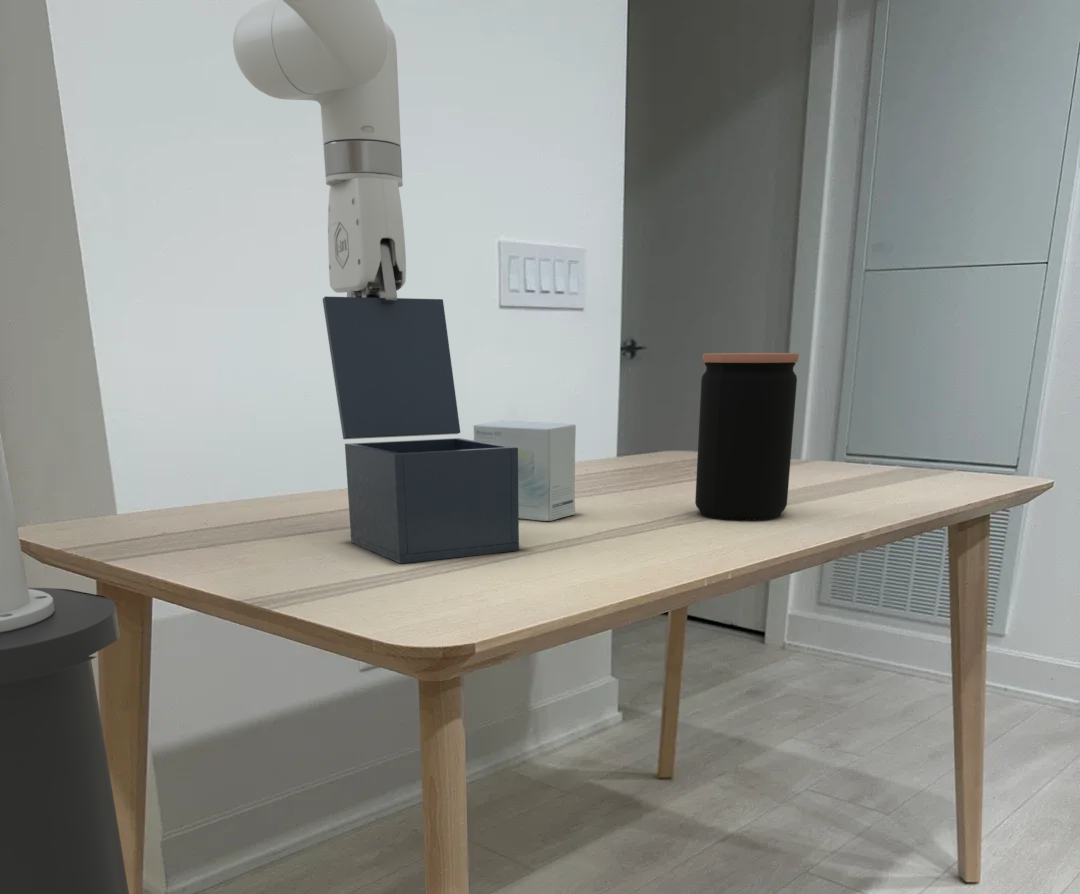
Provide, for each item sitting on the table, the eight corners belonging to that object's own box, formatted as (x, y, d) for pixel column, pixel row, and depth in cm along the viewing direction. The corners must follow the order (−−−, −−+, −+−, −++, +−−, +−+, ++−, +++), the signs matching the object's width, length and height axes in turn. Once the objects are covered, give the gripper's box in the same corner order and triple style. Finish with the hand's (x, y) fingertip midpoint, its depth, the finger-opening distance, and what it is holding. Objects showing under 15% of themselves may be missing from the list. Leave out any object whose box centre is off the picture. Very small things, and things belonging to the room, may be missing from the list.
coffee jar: (803, 514, 120) (817, 353, 114) (751, 524, 113) (763, 353, 107) (729, 505, 127) (739, 353, 121) (676, 514, 120) (683, 353, 114)
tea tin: (519, 550, 99) (518, 447, 96) (400, 563, 93) (394, 454, 90) (461, 531, 109) (459, 437, 106) (351, 542, 103) (344, 443, 100)
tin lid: (443, 298, 104) (439, 301, 104) (324, 296, 98) (322, 298, 98) (460, 432, 105) (457, 434, 106) (345, 438, 99) (342, 439, 100)
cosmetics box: (473, 514, 120) (471, 423, 117) (503, 508, 126) (502, 420, 122) (548, 522, 115) (548, 426, 112) (576, 514, 120) (577, 423, 117)
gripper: (302, 176, 104) (316, 365, 110) (355, 153, 92) (367, 367, 98) (370, 181, 108) (380, 364, 114) (430, 160, 95) (437, 366, 102)
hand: (374, 365), depth 106 cm, fingers closed
